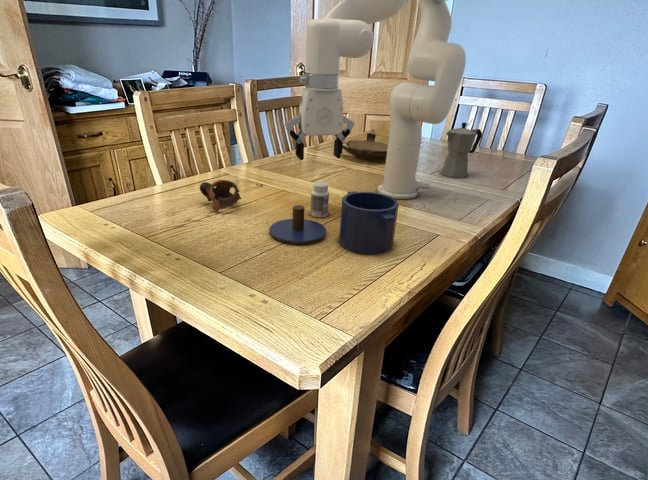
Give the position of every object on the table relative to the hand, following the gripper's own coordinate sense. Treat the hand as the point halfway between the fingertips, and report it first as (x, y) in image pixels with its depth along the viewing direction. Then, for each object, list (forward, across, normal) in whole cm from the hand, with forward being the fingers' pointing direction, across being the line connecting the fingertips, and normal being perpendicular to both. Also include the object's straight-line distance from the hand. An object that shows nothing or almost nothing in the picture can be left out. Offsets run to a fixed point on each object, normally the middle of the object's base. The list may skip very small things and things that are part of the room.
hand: (318, 157), depth 109 cm
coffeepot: (+16, +64, +29) cm, 72 cm away
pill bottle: (+16, +1, +2) cm, 16 cm away
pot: (+16, +6, -18) cm, 25 cm away
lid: (+15, -8, -9) cm, 19 cm away
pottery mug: (+16, -23, +14) cm, 31 cm away
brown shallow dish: (+16, +43, +59) cm, 75 cm away
